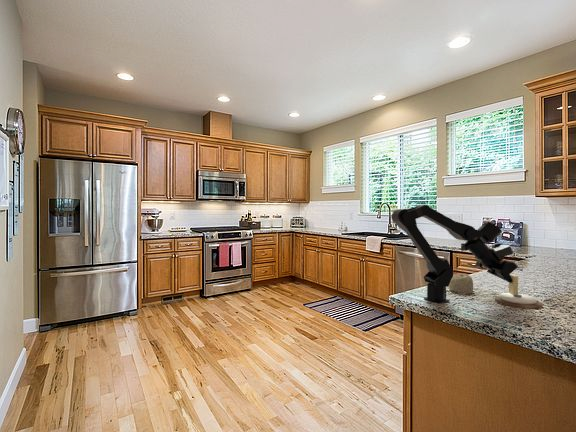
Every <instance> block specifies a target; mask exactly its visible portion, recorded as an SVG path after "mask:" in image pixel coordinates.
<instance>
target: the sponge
mask: <svg viewBox="0 0 576 432" xmlns="http://www.w3.org/2000/svg"><path fill="white" fill-rule="evenodd" d="M448 289H449V291H450V290H451V291H450V292H453V291H454V292H455V293H458V294H472V292H473V293H474V281H473V278H472V277H471V275H469V274H467V273H456V274H453V277H452V279H451V281H450V284H449V286H448Z"/></svg>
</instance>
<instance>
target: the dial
mask: <svg viewBox="0 0 576 432" xmlns="http://www.w3.org/2000/svg"><path fill="white" fill-rule="evenodd" d="M510 276H511V278H512V280H513V281H512V283H510V282H508V292H500V293H499V295H498V296H499V298H500V299H502V300H504V301H507V302H512V303H518V304H536V303H537V301H538V300H537V297H535V296H531V295H529V294H523V293H519V276H518V275H516V274H514V273H510Z"/></svg>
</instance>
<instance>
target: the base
mask: <svg viewBox="0 0 576 432" xmlns="http://www.w3.org/2000/svg"><path fill="white" fill-rule="evenodd" d="M494 302H496V303H498V304H500V305H504V306H507V307H510V308H511V307H512V308H518V309H529V310H530V309H531V310H532V309H533V310H535V309H537V310H538V309H541V308H543V303H542V302H541V301H539V300H537V303H536V304H518V303H512V302H507V301H504V300H502V299H500V298H499V295H495V296H494Z"/></svg>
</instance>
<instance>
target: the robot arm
mask: <svg viewBox="0 0 576 432" xmlns="http://www.w3.org/2000/svg"><path fill="white" fill-rule="evenodd" d="M421 217H422V218H425V219H427V220H428V221H429V222H431V223H434V224H435V225H438V226H439V227H441V228H443V229H445V230H446V231H447V232H448V234H450V235H451V236H452V237H453V238H454V239H456V240H458V241H465V243H462V242H461V243H460V244H461V247H460V251H466V252H467V251H470V253H471V254H472V255H473V256H474V259H475V260H477V261H475V266H476V267H477V268H478V269H479V270H484V269H487V271H486V272H487V273H488V274H490V275H492V276H495V277H497V278H499V279H501V280H503V281H505V282H507V283H509V282H510V283H512V281H513V280H512V278H511V276H510V274H513V272H514V271H515V270H516V269H518V265H517V264H516V262H514V261H510V260H504V257H508V256H510V255H511V256H512V255H514V251H513V250H512V247H511V245H509V244H499V243H493V244H492V242H493V241H495V239H497V238H498V237H499V236H500V235H501V234H502V232H503V231H502V229H501V228H500V227H499V226H498V225H496V224H494V223H493V222H491V221H489V220H486V221H483V223H482V225H481V226H479V228H477V229H476V228H475V227H474V226H472V225H469V224H466V223H462V222H459V221H455V220H453V219H452V218H450V217H448V216H447V215H444V214H442V213H441V212H439V211H438V210H436V209H434V208H432V207H430V206H429V205H428V204H419V205H417V206H413V207H409V208H401V209H400V208H398V209H395V210H393V212H392V214H391V220H392V222H394V224H395V225H396V226H397V227H398V228H400V229H401V230H402V231H403V232H404V233H406V235H407V236H408V237H409V239H410V240H411V242H412V243H413V245H414V246H415V247H416V249H417V250H418V252H419V254H420V255H421V257H422V258H423V259H424V260H425V262H426V267H427V270H428V271H427V273H425V275H424V276H423V280H424V282H425V283H427V284H426V290H427V291H426V297H425V296H424V297H423V299H424V300H426V301H430V302H432V303H435V304H436V303H437V304H442V303H446V302H447V303H448V302H450V299H447V287H448V288H449V284H450V281H451V279H452V277H453V276H454V275H455V272H454V270H453V269H454V267H453V266H451V264H450V263H449V261H448V259H446V258H442V257H439V256H438V254H436V252H435V251H434V249H433V248H432V246H431V245H430V243H429V242H428V240H427V239H426V237H425V236H424V235H423V233H422V232H421V231H420V229H419V227H418V225H417V224H418V223H417V219H420V218H421ZM487 244H492V247H491V248H490V247H488V246H487Z"/></svg>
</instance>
